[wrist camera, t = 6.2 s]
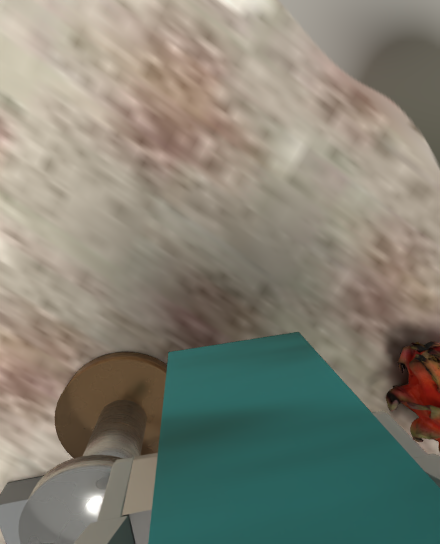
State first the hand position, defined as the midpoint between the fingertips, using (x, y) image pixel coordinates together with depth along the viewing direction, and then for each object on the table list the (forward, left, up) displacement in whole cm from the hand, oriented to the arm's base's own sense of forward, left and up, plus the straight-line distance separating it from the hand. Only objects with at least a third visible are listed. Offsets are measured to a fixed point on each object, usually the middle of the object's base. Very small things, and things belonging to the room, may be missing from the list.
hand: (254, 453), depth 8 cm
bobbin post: (-9, +8, -15) cm, 19 cm away
